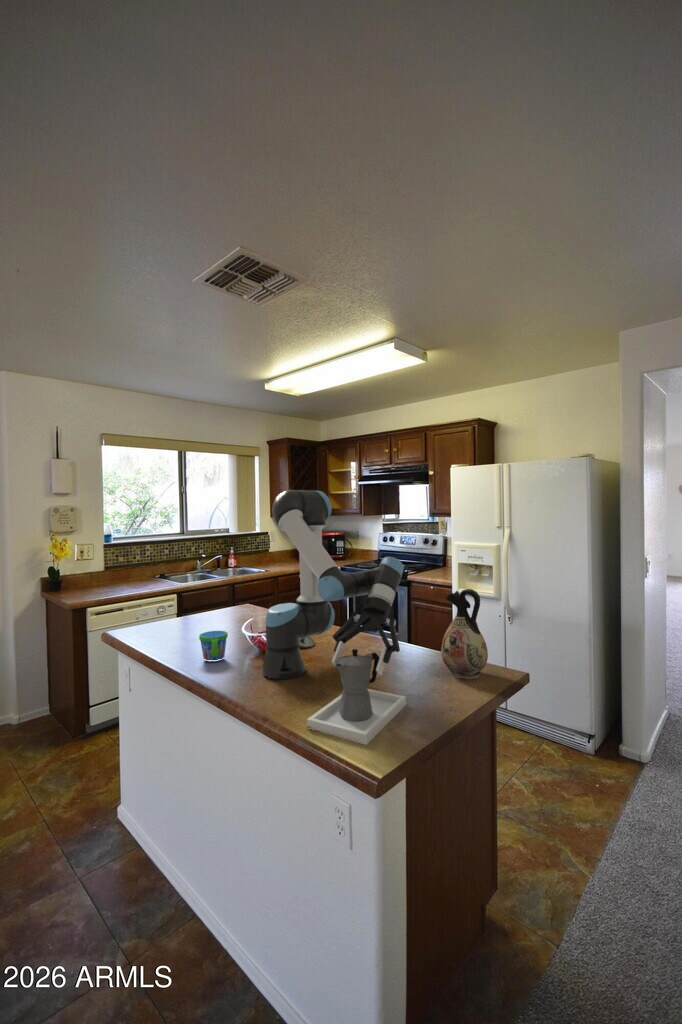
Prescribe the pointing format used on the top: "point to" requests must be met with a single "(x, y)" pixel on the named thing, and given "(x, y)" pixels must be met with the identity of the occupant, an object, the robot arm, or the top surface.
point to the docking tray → (361, 731)
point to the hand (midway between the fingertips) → (355, 668)
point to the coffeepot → (356, 685)
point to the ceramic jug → (464, 639)
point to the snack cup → (213, 644)
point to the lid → (306, 642)
